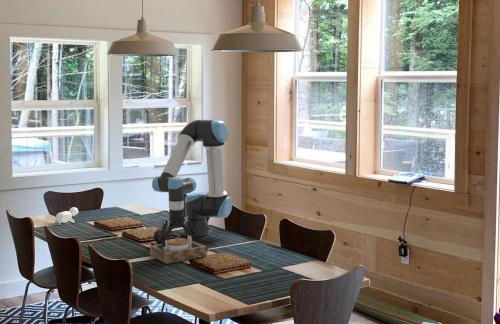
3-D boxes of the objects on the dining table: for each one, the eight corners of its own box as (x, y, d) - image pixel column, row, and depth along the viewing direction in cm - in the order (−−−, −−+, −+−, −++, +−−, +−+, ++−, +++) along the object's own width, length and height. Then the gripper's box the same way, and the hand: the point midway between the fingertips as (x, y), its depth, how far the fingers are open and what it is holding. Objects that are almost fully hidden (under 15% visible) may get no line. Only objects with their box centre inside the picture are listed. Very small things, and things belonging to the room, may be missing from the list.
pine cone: (170, 252, 371) (170, 232, 370) (150, 245, 384) (149, 227, 383) (186, 248, 378) (186, 229, 377) (166, 242, 391) (165, 224, 390)
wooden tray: (188, 248, 377) (188, 239, 376) (206, 256, 362) (205, 246, 361) (150, 255, 365) (149, 245, 364) (166, 263, 350) (166, 253, 349)
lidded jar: (178, 252, 371) (177, 234, 369) (193, 255, 364) (192, 237, 363) (162, 256, 363) (162, 238, 361) (178, 260, 356) (177, 241, 354)
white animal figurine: (63, 229, 438) (83, 217, 446) (57, 217, 435) (78, 205, 443) (56, 227, 444) (76, 215, 452) (51, 215, 441) (71, 203, 449)
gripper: (157, 213, 350) (158, 256, 353) (202, 206, 364) (203, 248, 366) (150, 210, 356) (151, 253, 359) (195, 204, 370) (196, 245, 373)
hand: (177, 250), depth 363 cm, fingers open, 13 cm apart
